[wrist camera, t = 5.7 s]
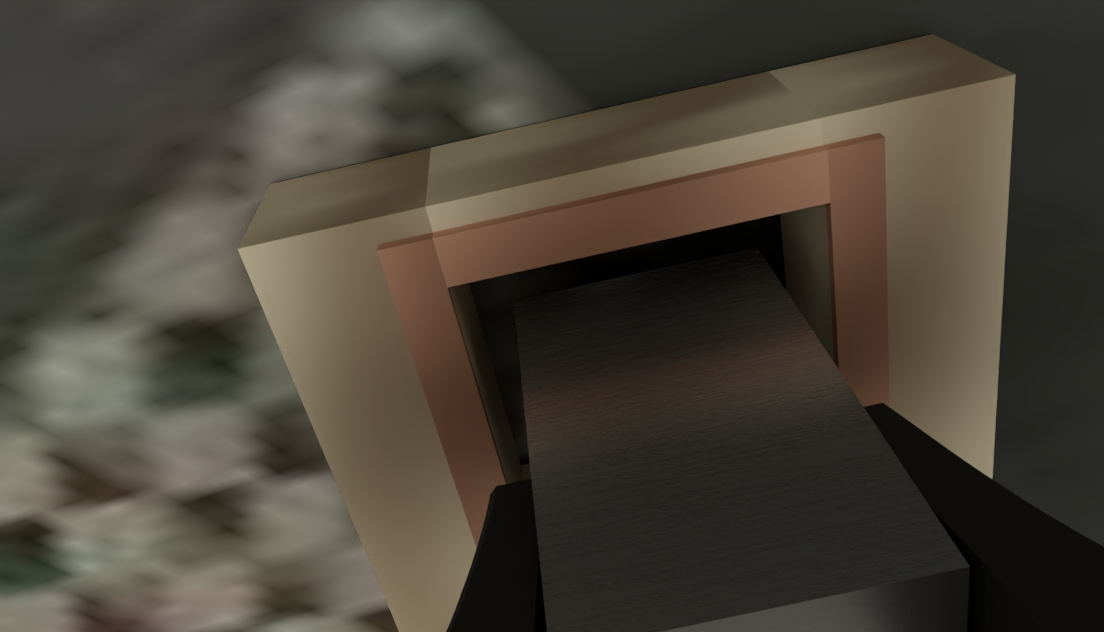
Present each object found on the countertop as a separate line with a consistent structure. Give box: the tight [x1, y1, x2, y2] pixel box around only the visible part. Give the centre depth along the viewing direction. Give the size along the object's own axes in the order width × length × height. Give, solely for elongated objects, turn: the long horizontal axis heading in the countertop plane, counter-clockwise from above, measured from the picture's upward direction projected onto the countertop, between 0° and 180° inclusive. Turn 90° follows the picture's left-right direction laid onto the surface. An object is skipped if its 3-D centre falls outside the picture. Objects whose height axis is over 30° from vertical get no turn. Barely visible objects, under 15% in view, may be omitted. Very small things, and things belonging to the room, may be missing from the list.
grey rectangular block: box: [513, 247, 970, 632], centre depth 12 cm, size 4×4×7 cm
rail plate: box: [238, 34, 1016, 632], centre depth 18 cm, size 11×18×3 cm, turn 12°
